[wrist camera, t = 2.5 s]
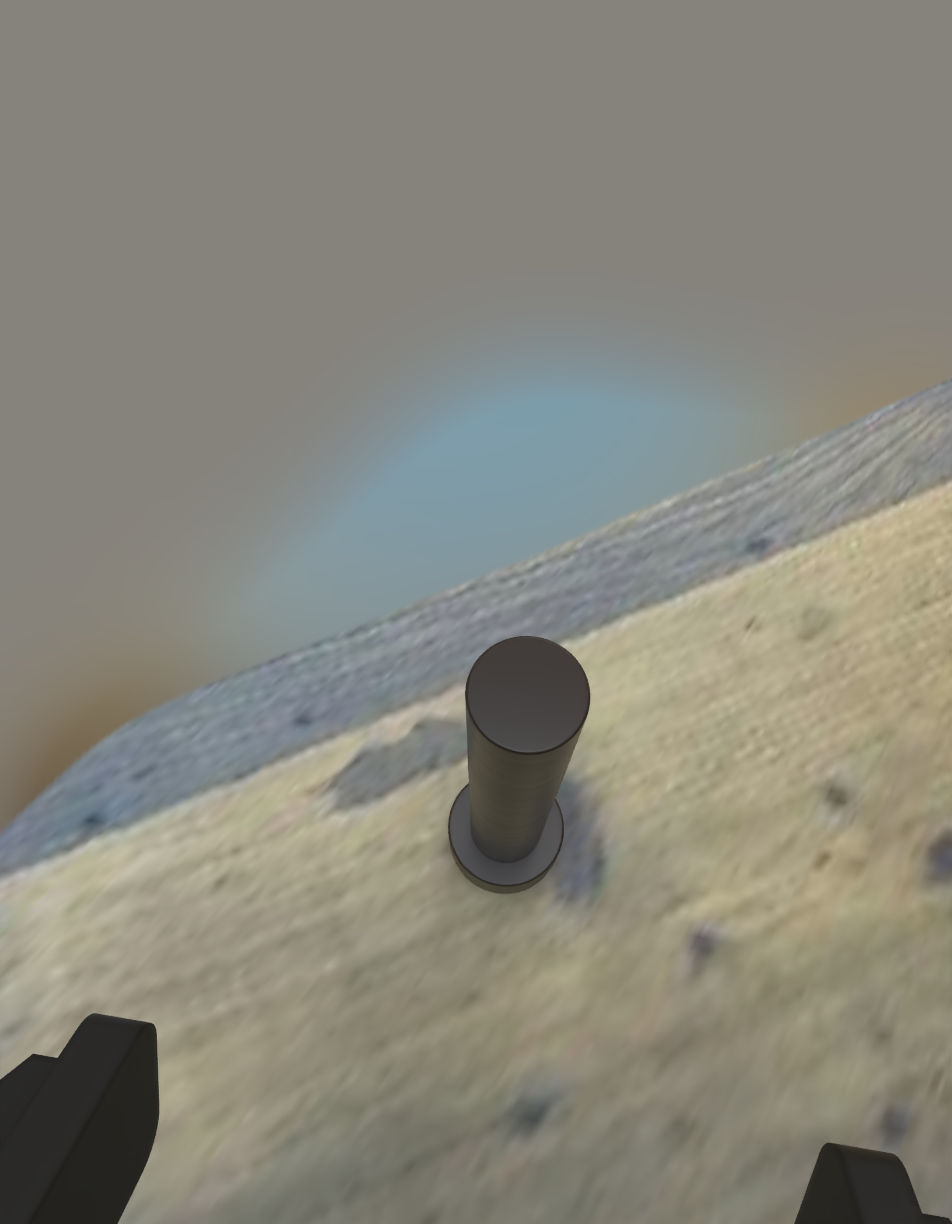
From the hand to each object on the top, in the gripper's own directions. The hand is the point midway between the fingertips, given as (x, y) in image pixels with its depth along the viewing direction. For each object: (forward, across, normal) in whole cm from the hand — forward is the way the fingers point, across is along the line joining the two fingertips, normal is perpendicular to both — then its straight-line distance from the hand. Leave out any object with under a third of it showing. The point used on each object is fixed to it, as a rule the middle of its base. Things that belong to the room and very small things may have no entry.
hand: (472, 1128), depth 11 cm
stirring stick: (+17, 0, +8) cm, 19 cm away
